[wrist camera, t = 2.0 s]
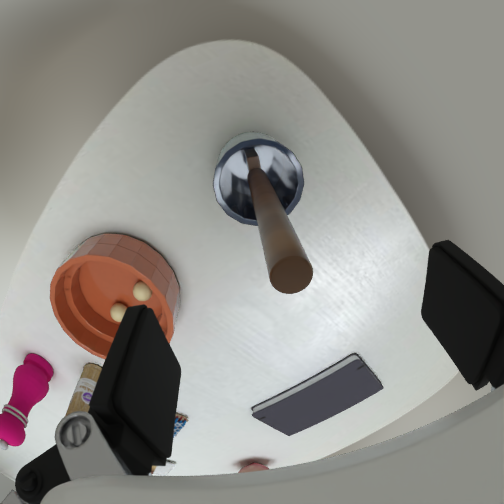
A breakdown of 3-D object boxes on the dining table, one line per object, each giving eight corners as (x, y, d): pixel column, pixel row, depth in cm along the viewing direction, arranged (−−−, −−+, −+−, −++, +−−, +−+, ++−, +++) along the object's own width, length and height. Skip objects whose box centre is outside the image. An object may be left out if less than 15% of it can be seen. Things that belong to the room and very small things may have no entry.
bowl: (53, 246, 32) (29, 270, 27) (156, 217, 32) (142, 240, 26) (100, 337, 39) (87, 366, 34) (195, 325, 39) (191, 357, 33)
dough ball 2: (132, 279, 34) (127, 290, 32) (150, 275, 34) (145, 286, 32) (139, 295, 35) (135, 306, 33) (156, 291, 35) (153, 303, 33)
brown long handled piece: (241, 150, 29) (261, 235, 10) (257, 147, 29) (308, 226, 10) (248, 184, 30) (277, 318, 12) (263, 181, 30) (317, 310, 12)
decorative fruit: (258, 453, 58) (262, 489, 49) (277, 461, 61) (281, 494, 52) (227, 462, 60) (228, 496, 51) (246, 470, 63) (249, 502, 55)
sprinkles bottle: (109, 369, 42) (88, 435, 30) (106, 383, 44) (87, 446, 32) (84, 358, 41) (58, 423, 29) (83, 373, 43) (60, 435, 31)
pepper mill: (19, 356, 41) (-21, 435, 24) (34, 346, 40) (-11, 434, 22) (45, 380, 44) (12, 460, 27) (62, 373, 43) (27, 462, 25)
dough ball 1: (110, 300, 36) (104, 312, 34) (125, 298, 36) (120, 309, 33) (118, 315, 37) (112, 326, 35) (133, 312, 37) (128, 324, 35)
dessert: (164, 473, 64) (163, 487, 60) (123, 461, 61) (121, 475, 57) (176, 461, 60) (175, 477, 55) (130, 448, 56) (127, 464, 52)
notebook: (287, 430, 53) (381, 382, 48) (288, 436, 52) (383, 388, 47) (249, 408, 48) (355, 351, 44) (249, 415, 47) (358, 358, 42)
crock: (211, 139, 28) (204, 149, 21) (279, 126, 28) (296, 131, 21) (226, 203, 32) (224, 233, 25) (291, 190, 31) (308, 216, 24)
